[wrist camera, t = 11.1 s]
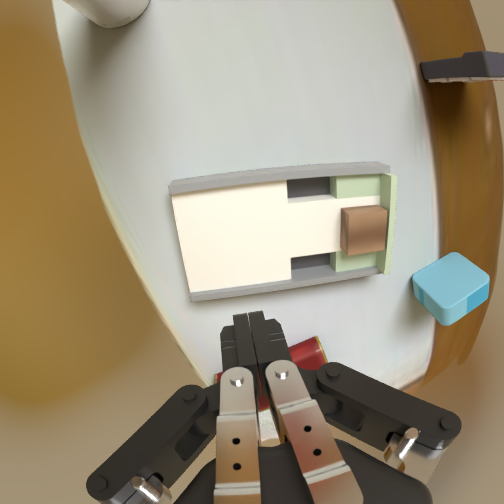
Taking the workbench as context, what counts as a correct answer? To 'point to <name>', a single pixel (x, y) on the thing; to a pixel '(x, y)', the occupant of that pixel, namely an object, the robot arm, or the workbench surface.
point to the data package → (451, 287)
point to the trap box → (277, 227)
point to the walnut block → (363, 229)
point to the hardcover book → (297, 362)
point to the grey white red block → (466, 68)
